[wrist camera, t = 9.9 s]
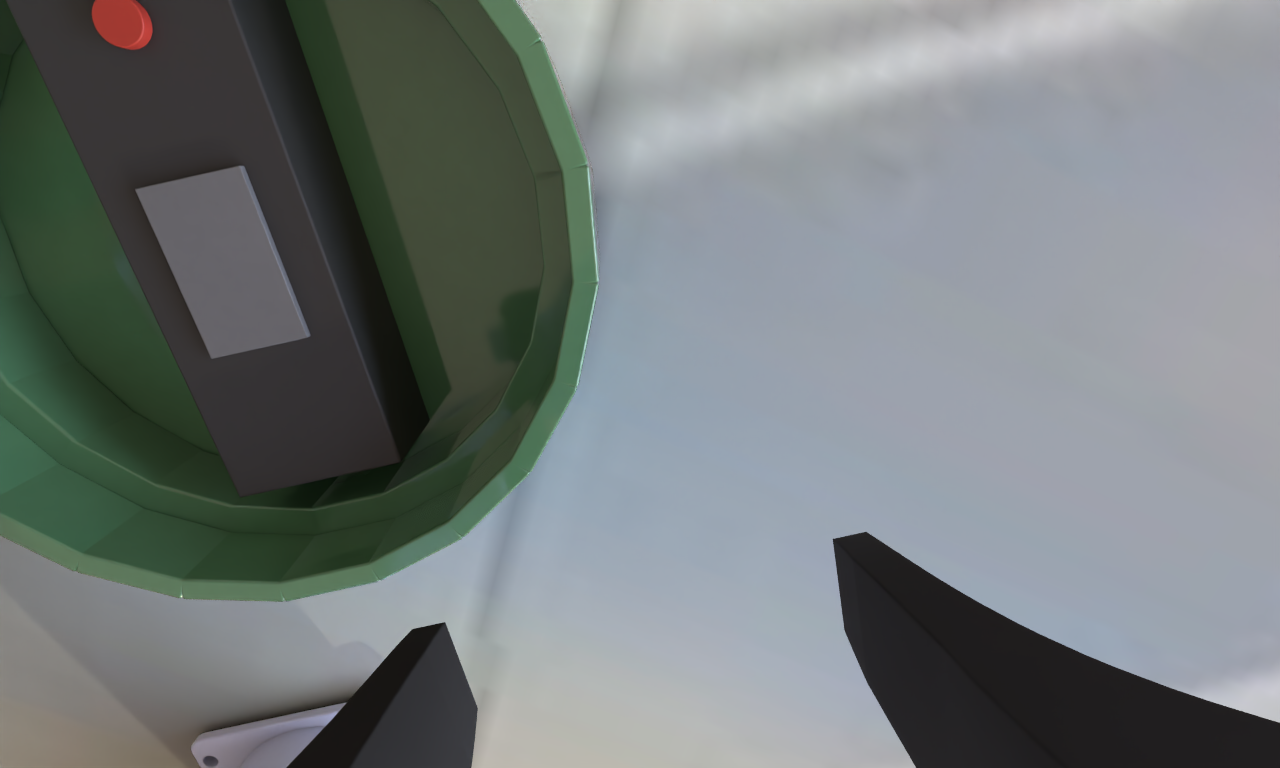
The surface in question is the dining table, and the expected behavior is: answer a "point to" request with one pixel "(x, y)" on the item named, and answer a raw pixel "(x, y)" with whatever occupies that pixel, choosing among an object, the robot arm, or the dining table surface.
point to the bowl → (412, 278)
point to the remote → (235, 227)
